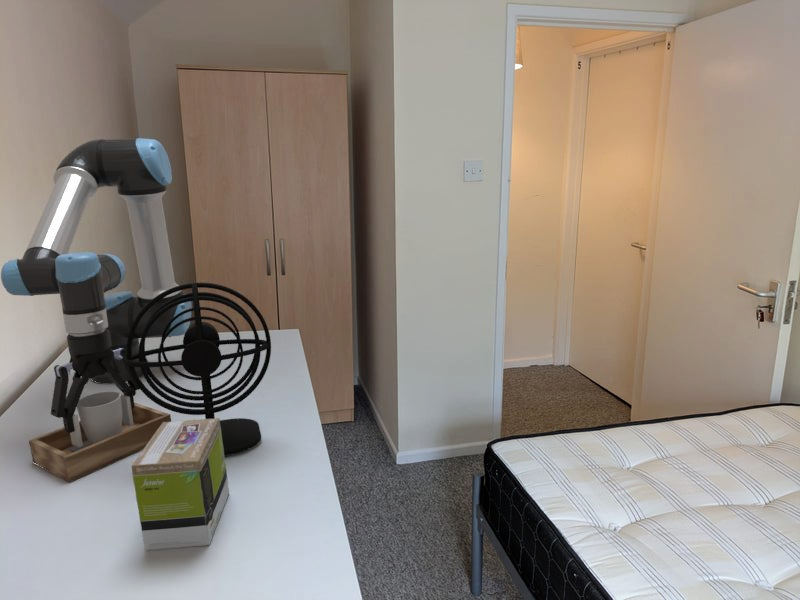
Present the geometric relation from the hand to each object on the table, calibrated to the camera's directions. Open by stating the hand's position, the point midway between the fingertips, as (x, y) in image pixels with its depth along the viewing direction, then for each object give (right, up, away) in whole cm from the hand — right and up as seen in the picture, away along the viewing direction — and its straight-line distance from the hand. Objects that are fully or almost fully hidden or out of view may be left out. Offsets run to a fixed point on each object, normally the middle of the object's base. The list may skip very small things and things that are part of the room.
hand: (103, 434), depth 119 cm
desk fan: (+22, -3, +1) cm, 22 cm away
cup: (0, -2, +1) cm, 2 cm away
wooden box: (0, -3, +1) cm, 3 cm away
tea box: (+27, -9, -25) cm, 37 cm away
